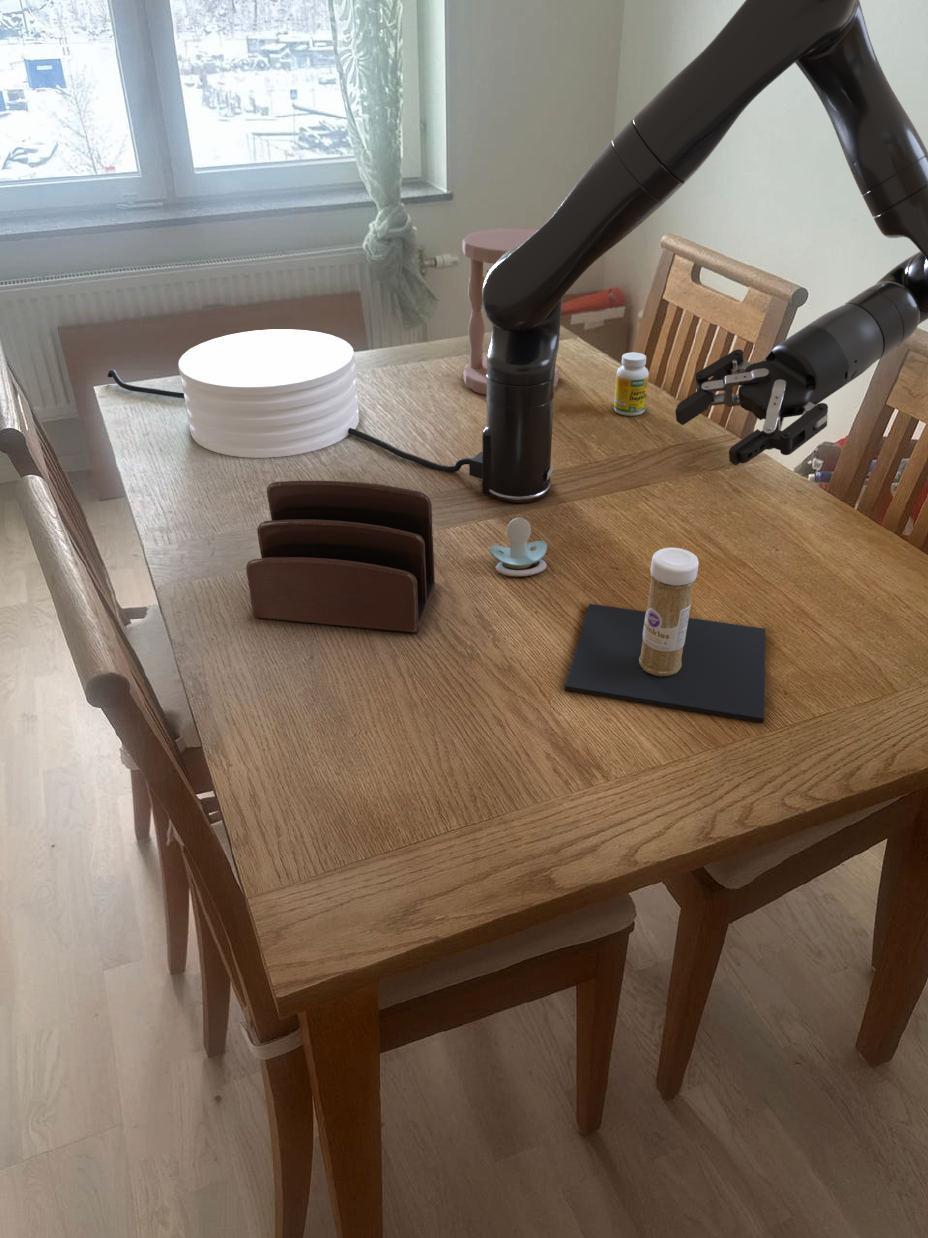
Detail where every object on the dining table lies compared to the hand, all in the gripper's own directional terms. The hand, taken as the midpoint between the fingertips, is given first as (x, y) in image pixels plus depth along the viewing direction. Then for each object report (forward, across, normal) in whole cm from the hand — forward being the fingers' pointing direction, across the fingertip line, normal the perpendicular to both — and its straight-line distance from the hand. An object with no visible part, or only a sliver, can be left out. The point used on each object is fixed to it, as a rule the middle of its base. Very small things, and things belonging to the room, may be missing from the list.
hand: (704, 437), depth 96 cm
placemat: (+15, +10, +16) cm, 24 cm away
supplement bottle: (-19, -47, +40) cm, 65 cm away
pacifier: (+20, -14, +18) cm, 30 cm away
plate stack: (+32, -74, +23) cm, 84 cm away
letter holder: (+40, -17, +10) cm, 45 cm away
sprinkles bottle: (+16, +11, +14) cm, 25 cm away
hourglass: (-9, -70, +40) cm, 81 cm away
